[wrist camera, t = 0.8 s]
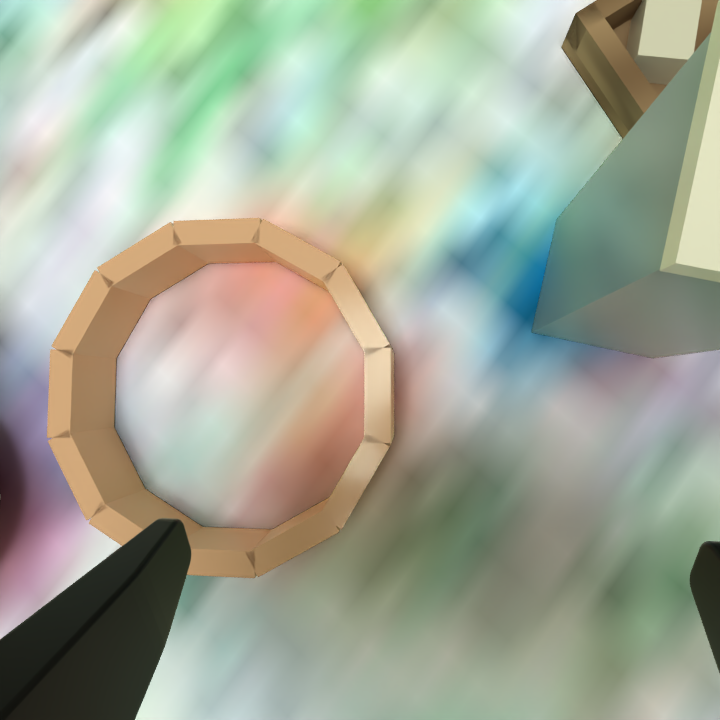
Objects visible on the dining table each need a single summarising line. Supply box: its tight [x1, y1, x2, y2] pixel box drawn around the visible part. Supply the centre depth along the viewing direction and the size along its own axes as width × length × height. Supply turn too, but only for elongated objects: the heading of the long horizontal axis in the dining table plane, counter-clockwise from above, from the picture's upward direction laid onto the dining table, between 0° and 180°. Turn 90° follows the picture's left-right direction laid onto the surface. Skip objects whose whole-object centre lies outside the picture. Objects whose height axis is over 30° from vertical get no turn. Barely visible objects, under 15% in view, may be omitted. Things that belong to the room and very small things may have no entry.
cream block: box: [626, 0, 702, 85], centre depth 20 cm, size 3×2×2 cm
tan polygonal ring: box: [47, 218, 394, 578], centre depth 21 cm, size 14×14×3 cm
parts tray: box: [562, 0, 719, 138], centre depth 20 cm, size 8×8×2 cm
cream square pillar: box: [532, 0, 720, 358], centre depth 15 cm, size 5×5×13 cm
